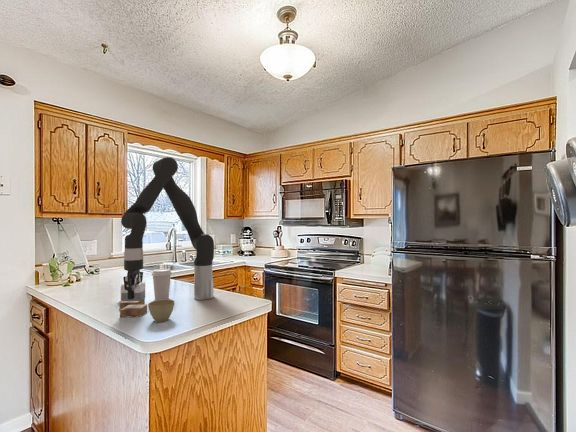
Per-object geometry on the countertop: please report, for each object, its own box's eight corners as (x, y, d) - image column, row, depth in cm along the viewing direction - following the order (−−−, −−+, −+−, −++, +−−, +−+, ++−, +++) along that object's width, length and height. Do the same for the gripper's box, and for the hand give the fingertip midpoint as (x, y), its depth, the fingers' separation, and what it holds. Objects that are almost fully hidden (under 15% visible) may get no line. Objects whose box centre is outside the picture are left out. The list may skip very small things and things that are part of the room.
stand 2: (147, 311, 139) (147, 304, 139) (139, 316, 131) (139, 309, 131) (128, 311, 139) (128, 304, 139) (120, 317, 131) (119, 310, 131)
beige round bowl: (153, 316, 131) (153, 299, 131) (177, 315, 132) (177, 298, 132) (144, 324, 121) (144, 306, 121) (170, 323, 122) (170, 305, 122)
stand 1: (144, 304, 151) (144, 297, 151) (137, 308, 143) (137, 302, 143) (127, 304, 150) (127, 298, 150) (119, 309, 142) (119, 302, 142)
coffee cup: (147, 300, 157) (147, 270, 158) (161, 296, 166) (161, 268, 166) (162, 302, 154) (161, 272, 154) (175, 297, 163) (175, 269, 163)
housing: (145, 297, 138) (145, 280, 138) (140, 300, 133) (140, 282, 133) (126, 298, 137) (126, 280, 137) (121, 301, 132) (121, 282, 132)
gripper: (135, 260, 128) (135, 301, 128) (149, 256, 143) (149, 293, 142) (116, 260, 128) (116, 302, 128) (132, 256, 142) (132, 293, 142)
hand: (133, 297), depth 135 cm, fingers closed on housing, 5 cm apart
